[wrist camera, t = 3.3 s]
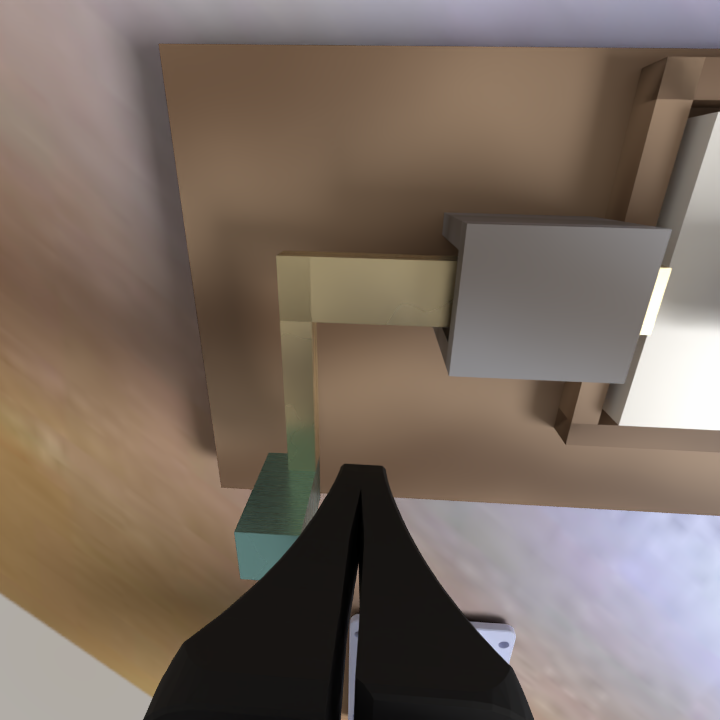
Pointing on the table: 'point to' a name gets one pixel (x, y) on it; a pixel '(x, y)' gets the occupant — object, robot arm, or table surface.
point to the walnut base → (449, 238)
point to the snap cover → (682, 301)
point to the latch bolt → (300, 371)
